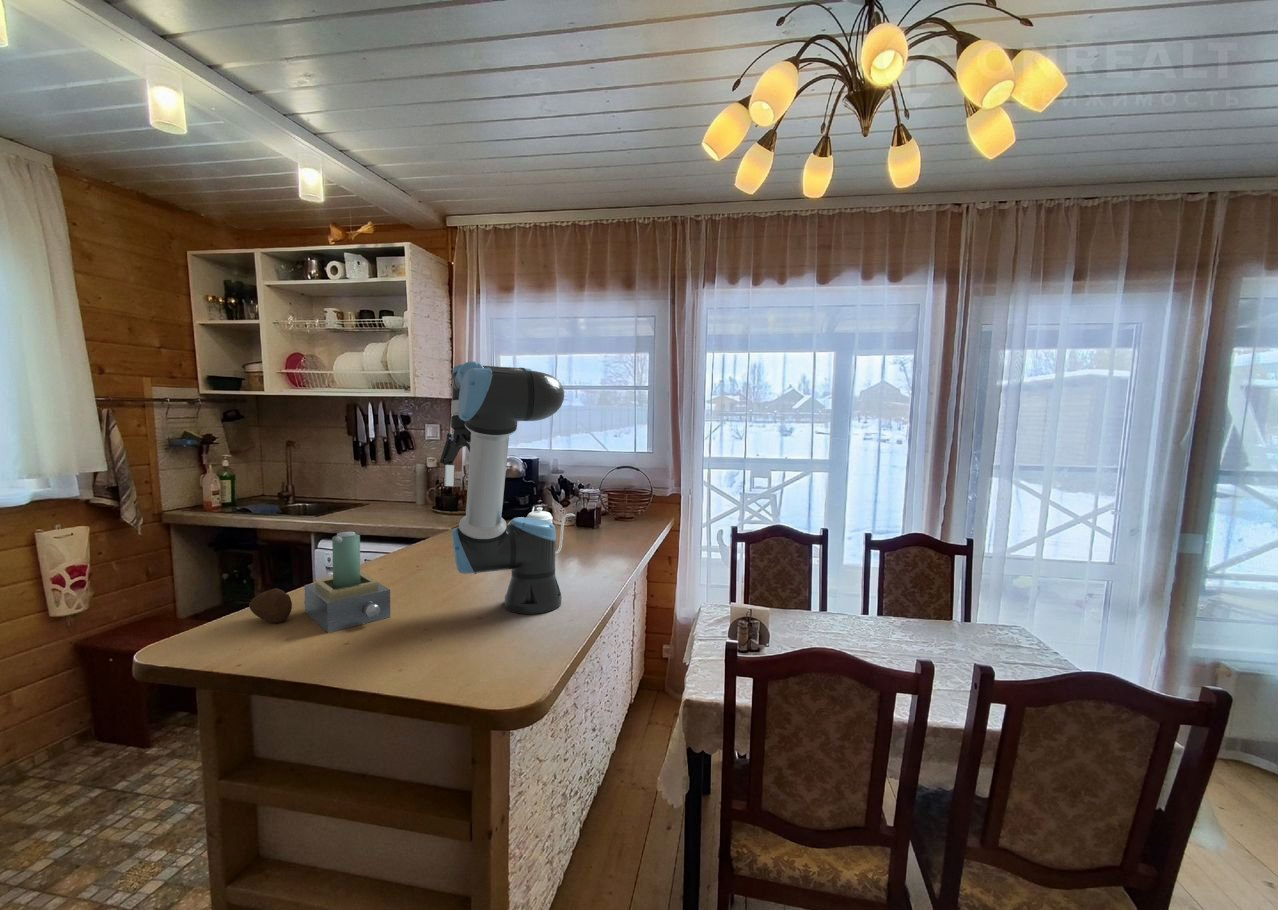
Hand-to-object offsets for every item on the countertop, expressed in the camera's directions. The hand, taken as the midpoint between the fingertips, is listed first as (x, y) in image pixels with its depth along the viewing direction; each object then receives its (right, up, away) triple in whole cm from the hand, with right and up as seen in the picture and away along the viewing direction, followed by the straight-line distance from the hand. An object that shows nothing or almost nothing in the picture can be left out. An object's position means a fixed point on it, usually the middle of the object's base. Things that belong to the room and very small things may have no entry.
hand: (462, 485), depth 157 cm
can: (-20, -24, -26) cm, 41 cm away
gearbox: (-19, -31, -27) cm, 45 cm away
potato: (-36, -31, -30) cm, 56 cm away
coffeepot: (+18, -28, +29) cm, 44 cm away
